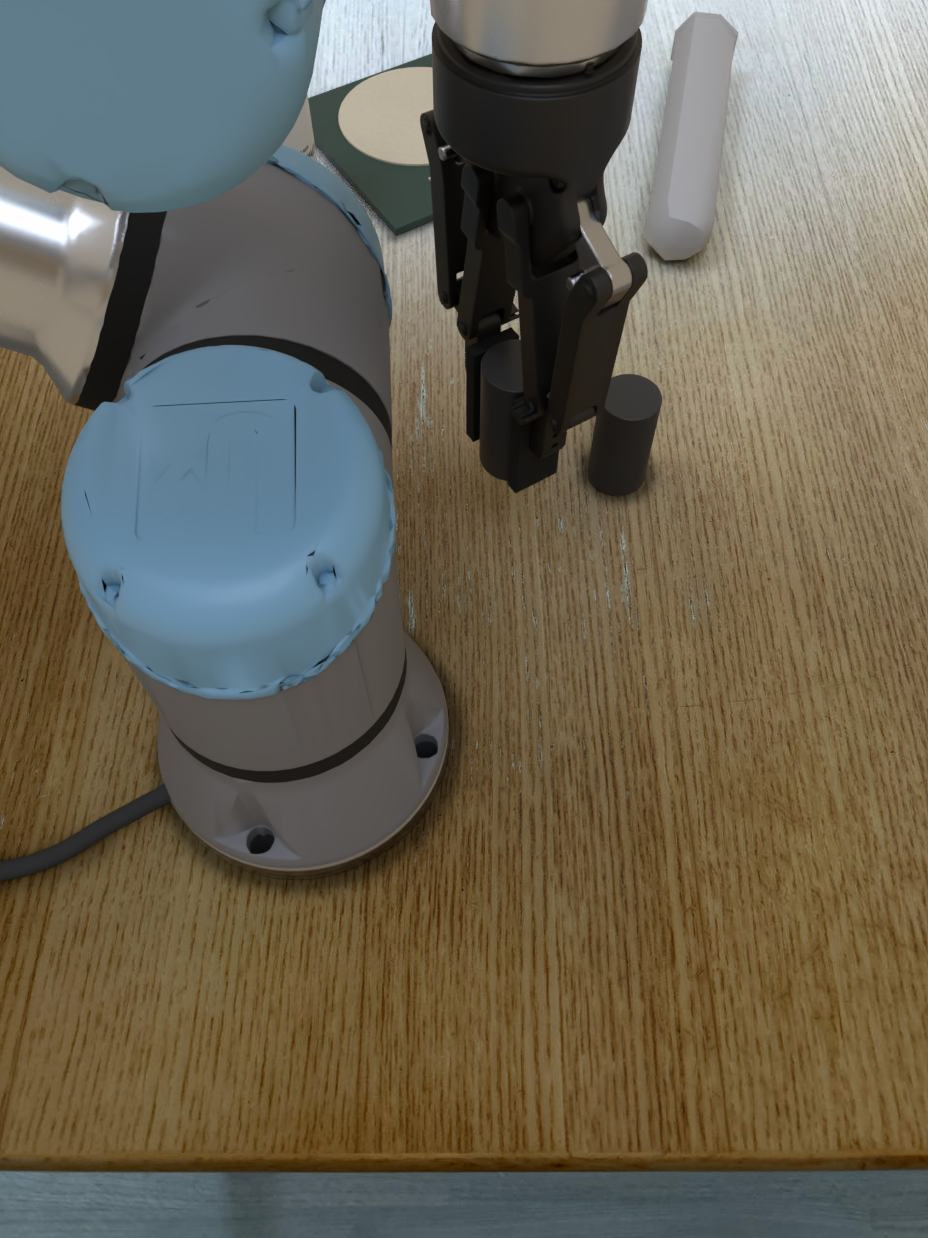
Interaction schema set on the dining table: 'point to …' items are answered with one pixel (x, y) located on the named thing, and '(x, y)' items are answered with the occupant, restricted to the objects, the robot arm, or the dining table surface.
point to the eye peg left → (498, 404)
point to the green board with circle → (381, 140)
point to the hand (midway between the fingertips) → (510, 452)
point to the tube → (691, 137)
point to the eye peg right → (624, 435)
